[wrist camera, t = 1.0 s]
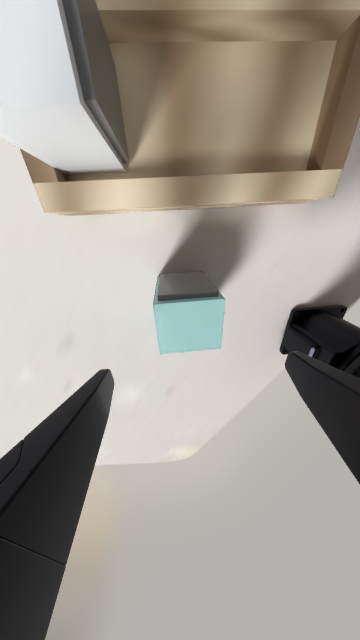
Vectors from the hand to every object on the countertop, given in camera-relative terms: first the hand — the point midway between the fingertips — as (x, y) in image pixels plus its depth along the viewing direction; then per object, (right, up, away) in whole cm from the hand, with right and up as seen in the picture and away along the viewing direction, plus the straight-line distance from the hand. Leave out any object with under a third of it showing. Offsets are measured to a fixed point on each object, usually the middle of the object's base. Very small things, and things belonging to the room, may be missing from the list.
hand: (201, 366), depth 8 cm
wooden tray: (-1, +16, +3) cm, 16 cm away
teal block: (-1, +5, +9) cm, 11 cm away
